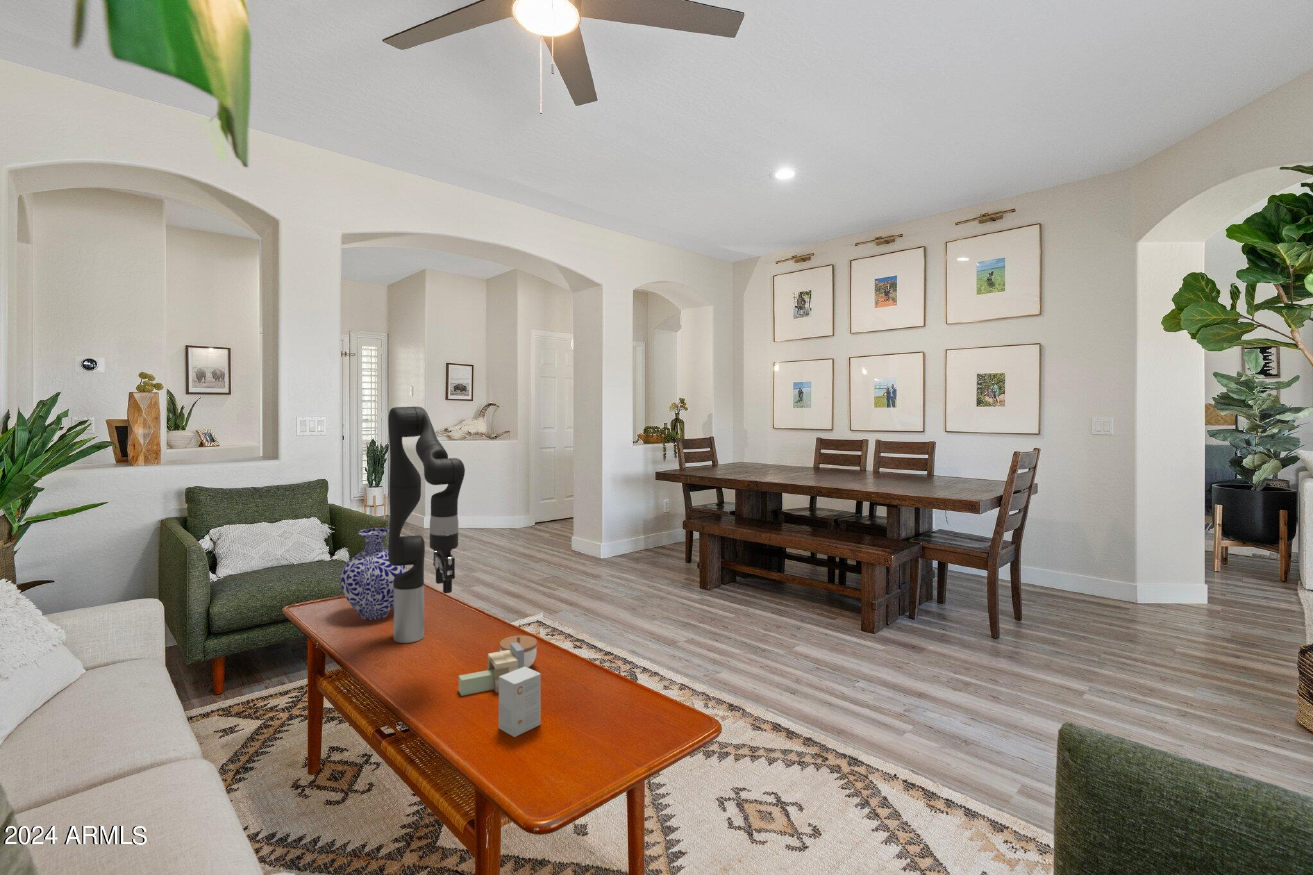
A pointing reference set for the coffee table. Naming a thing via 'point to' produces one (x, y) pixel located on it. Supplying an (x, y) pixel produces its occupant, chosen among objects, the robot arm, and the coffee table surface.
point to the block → (501, 665)
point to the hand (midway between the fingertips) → (443, 587)
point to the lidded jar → (526, 643)
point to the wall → (518, 653)
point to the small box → (519, 701)
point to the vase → (371, 577)
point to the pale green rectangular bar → (476, 682)
